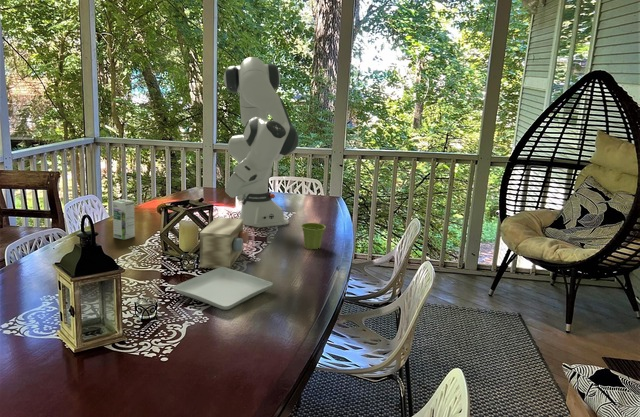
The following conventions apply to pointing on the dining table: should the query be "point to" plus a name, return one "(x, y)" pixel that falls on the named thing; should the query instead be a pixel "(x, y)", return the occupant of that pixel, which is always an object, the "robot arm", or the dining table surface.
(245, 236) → the button brick
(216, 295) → the salad plate
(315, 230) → the plant pot
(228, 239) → the cardboard box
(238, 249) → the blue grey rounded piece
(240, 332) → the dining table surface
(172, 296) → the dining table surface
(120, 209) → the syrup box
